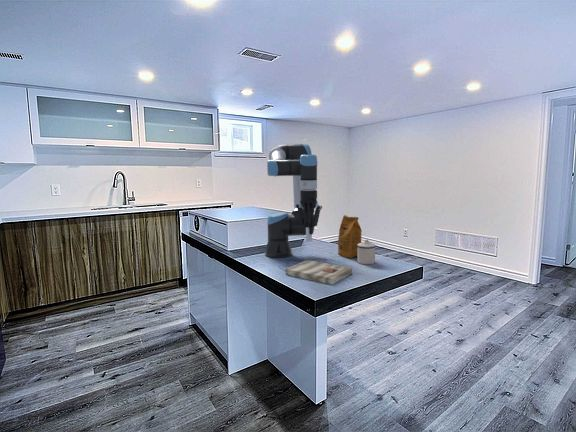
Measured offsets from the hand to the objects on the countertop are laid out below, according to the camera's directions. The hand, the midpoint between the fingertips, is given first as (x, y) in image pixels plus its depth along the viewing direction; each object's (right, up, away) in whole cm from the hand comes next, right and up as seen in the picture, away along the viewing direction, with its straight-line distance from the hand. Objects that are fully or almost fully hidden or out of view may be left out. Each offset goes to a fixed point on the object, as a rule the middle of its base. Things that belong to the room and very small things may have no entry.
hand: (308, 240), depth 146 cm
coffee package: (+24, -10, +29) cm, 39 cm away
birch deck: (+4, -15, -2) cm, 16 cm away
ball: (+7, -14, -4) cm, 17 cm away
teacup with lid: (+30, -12, +17) cm, 36 cm away
